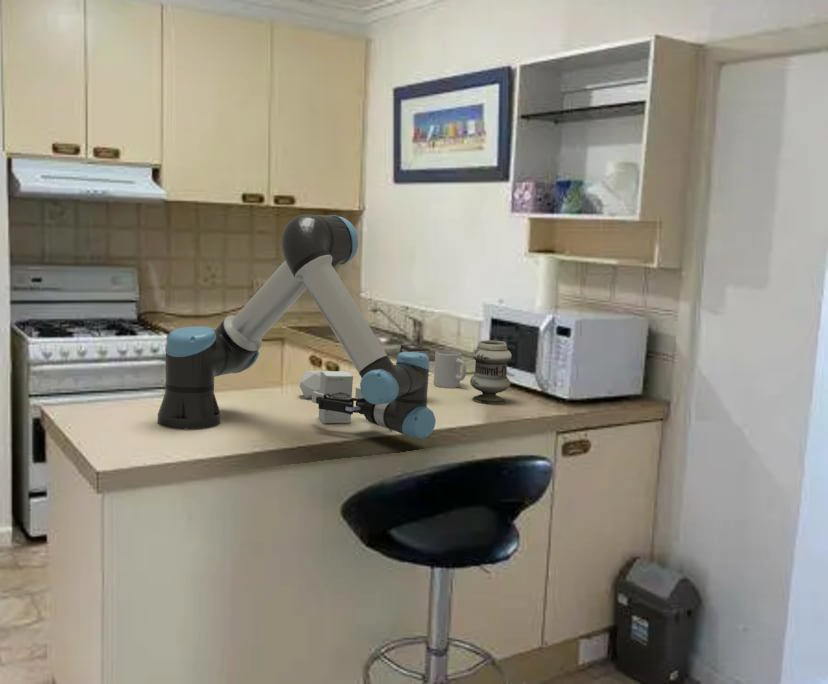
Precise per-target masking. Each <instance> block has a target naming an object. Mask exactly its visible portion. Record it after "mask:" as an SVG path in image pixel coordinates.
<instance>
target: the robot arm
mask: <svg viewBox="0 0 828 684" xmlns="http://www.w3.org/2000/svg"><path fill="white" fill-rule="evenodd" d="M280 239H281V240H280V242H281V243H280V245H281V252H282V255H283V258H284V261H283V262H282V263H281V264H280V265H279V267H278V268H277V269H276V270H275V271H274V272H273V273H272V275H271V276H270V277H269V278H268V279H267V280H266V281H265V283H264V284H262V286H261V287H260V288H258V290H257V291H256V293H255V294H254V295H253V296H252V297H251V298H250V299H249V301H247V303H246V304H245V305H244V306H243V307H242V308H241V309H240V310H239V311H238V313H237V314H236V315H233V314H231V315H228V316H226V317H225V318H224V320H223V321H222V322H220V324H219V325H218V326H217V327H216V328H215V329H213V328H212V327H208V326H202V325H201V326H199V325H196V326H193V325H192V326H185V327H180V328H177V329H176V328H175V329H174V330H172V331H170V332H169V334H167V337H166V345H165V350H164V351H165V393H164V396H163V398H162V401H161V404H160V407H159V409H158V413H157V424H158V425H159V426H161V427H164V428H168V429H169V428H170V429H175V430H177V429H178V430H200V429H208V428H209V429H210V428H214V427H217V426H218V425H220V424H221V411H220V408H219V404H218V402H217V401H218V400H217V397H216V395H215V377H220V376H224V375H230V374H238V373H241V372H243V371H245V370H247V369H250V368H251V367H252V366H253V365H254V364H255V363H256V362H257V360H258V359H259V355H260V352H259V350H260V349H261V347H262V345H263V340H262V338H263V337H264V336H265V335H266V334H267V332H269V330H271V328H272V327H273V326H274V325H275V324H276V323H277V321H279V320H280V318H281V317H283V315H284V314H285V313H286V312H287V311H288V310H289V309H290V307H291V306H293V304H294V303H295V302H296V301H297V300H298V299H299V298H300V297H301V295H303V294H304V293H305V291H308V292H309V294H310V296H311V298H312V299H313V301H314V302H315V304H316V306H317V308H318V309H319V310H320V312H321V314H322V316H323V317H324V319H325V320H326V322H327V324H328V326H329V327H330V329H331V330H332V332H333V333H334V335H335V337H336V338H337V340H338V342H339V344H340V345H341V346H342V348H343V350H344V352H345V353H346V355H347V356H348V358H349V360H350V361H351V363H352V364H353V366H354V367H355V369H356V370H357V372H358V374H359V376H360V378H361V379H360V383H359V387H358V386H357V387H355V393H354V394H355V396H354V397H352V398H351V399H339V398H329V396H327V394H321V393H318V392H315V391H313V392H312V398H311V403H313V404H315V405H316V404H317V405H318V410H319V409H324V410H330V411H336V412H342V413H347V414H350V415H351V416H352V415H353V414H354V413H357V414H359V415H363V416H364V418H365V419H366V421H367V422H369V423H371V424H374V425H376V426H380V427H382V428H386V429H388V431H390V432H396V433H400V434H402V435H404V436H405V437H408V438H414V439H419V440H422V439H425V438H428V437H429V436H430V435H431V434H432V432H433V431H434V429H435V427H436V416H435V413H434V412H433V410H432V409H430V408H429V407H428V391H427V389H428V388H429V385H428V384H429V375H430V374H429V373H430V359H429V358H428V356H427V355H426V354H423V353H418V352H401V353H400V352H399V353H398V354H397V357H396V362H395V365H394V364H393V362H392V360H391V359H390V357H389V356H388V354H387V353H386V351H385V349H384V348H383V345H381V343H380V342H379V340H378V338H377V337H376V335H375V333H374V332H373V330H372V329H371V326H370V324H368V323H369V322H368V321H367V320H366V319H365V317H364V315H363V314H362V312H361V309H359V307H358V306H357V303H356V302H355V301H354V299H353V297H352V296H351V294H350V292H349V290H348V289H347V288H346V286H345V284H344V283H343V281H342V280H341V278H340V276H339V274H338V273H337V271H336V270H335V268H337V266H338V265H344V264H347V263H348V262H350V261H351V260H353V258H354V257H355V256H356V253H357V251H358V248H359V243H358V242H359V237H358V233H357V229H356V228H355V227H354V225H353V223H351V221H349V220H348V219H347V218H345V217H342V216H339V215H335V214H329V215H328V214H327V215H326V214H325V215H324V214H312V213H311V214H310V213H307V214H306V213H305V214H300V215H297V216H296V217H293V218H292V219H291V220H290V221H288V223H287V224H286V225H285V227H284V228H283V231H282V234H281V238H280ZM354 402H355V403H354Z"/></svg>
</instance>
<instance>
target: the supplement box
mask: <svg viewBox="0 0 828 684" xmlns="http://www.w3.org/2000/svg"><path fill="white" fill-rule="evenodd" d="M320 371H321V377H320V393H321V394H327V396H329V398H339V399H351V398H353V397H352V396H353V386H354V385H353V383H354V381H353V379H354V376H353V374H351V373H350V372H348V371H345V370H344V371H343V370H341V371H340V370H339V371H336V370H332V371H331V370H330V371H329V370H320ZM318 418H319V420H320V421H321V422H322V424H351V422H352V414H351V415H350V414H347V413H342V412H336V411H330V410H324V409H319V408H318Z"/></svg>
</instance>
